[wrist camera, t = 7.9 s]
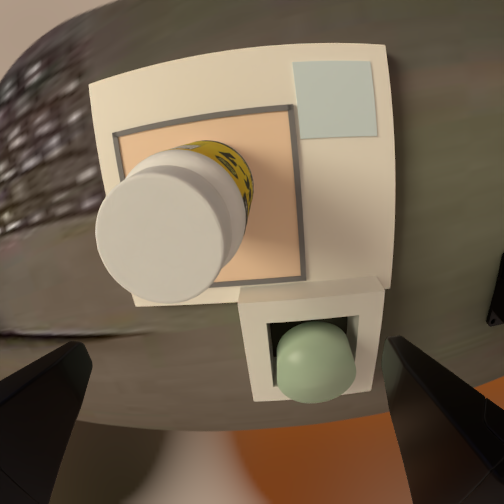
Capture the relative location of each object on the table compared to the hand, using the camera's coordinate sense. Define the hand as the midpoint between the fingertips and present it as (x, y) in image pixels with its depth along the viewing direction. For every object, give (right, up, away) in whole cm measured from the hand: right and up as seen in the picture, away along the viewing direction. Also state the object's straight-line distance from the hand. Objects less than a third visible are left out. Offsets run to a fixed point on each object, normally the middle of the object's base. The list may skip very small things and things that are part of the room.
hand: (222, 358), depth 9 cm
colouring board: (+1, +7, +9) cm, 11 cm away
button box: (+5, -2, +13) cm, 14 cm away
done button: (+4, -3, +10) cm, 12 cm away
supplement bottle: (-1, +7, +8) cm, 10 cm away
